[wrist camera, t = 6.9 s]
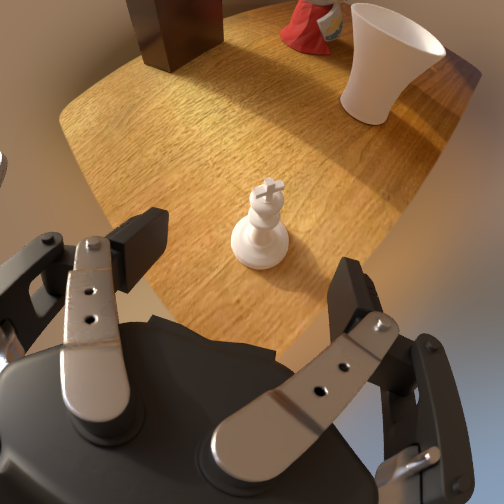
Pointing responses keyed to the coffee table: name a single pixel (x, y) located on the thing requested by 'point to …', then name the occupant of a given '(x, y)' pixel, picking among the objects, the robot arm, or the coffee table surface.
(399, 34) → the cup
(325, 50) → the figurine
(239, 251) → the chess piece
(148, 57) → the rectangular box
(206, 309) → the coffee table surface
